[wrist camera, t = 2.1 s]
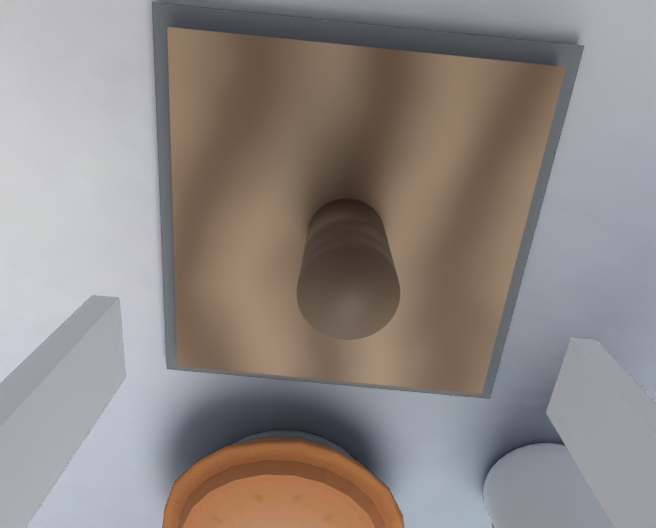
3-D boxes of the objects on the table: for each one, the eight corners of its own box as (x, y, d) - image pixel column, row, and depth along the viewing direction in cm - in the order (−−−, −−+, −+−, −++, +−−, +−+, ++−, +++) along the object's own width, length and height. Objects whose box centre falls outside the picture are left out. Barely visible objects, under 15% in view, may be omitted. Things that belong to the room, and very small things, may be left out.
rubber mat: (578, 46, 23) (584, 45, 22) (487, 392, 30) (489, 398, 30) (156, 3, 23) (152, 2, 22) (169, 363, 30) (166, 369, 30)
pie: (136, 494, 35) (105, 560, 30) (273, 360, 30) (261, 413, 26) (299, 594, 38) (293, 666, 34) (443, 488, 34) (460, 554, 29)
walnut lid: (556, 66, 23) (661, 66, 15) (477, 383, 30) (522, 489, 22) (174, 28, 23) (92, 9, 15) (182, 356, 29) (129, 454, 22)
